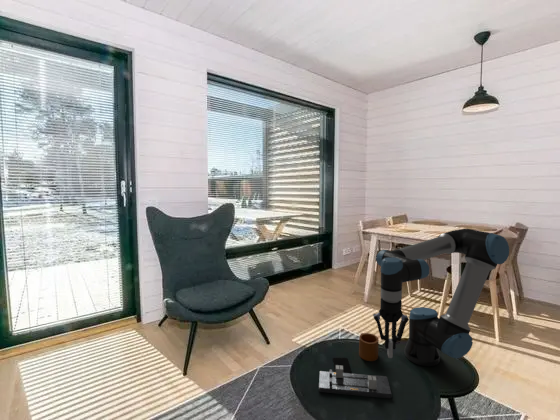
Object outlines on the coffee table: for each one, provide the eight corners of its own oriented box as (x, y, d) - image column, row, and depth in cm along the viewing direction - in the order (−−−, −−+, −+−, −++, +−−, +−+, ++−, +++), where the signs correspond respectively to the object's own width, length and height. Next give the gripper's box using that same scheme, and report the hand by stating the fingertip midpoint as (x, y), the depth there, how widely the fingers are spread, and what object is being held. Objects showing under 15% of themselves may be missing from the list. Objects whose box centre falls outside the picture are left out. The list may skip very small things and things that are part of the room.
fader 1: (342, 374, 130) (342, 365, 129) (343, 378, 127) (343, 369, 127) (335, 373, 130) (335, 364, 130) (335, 377, 128) (335, 368, 127)
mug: (372, 345, 154) (372, 329, 152) (380, 361, 142) (381, 343, 140) (354, 346, 153) (355, 329, 152) (361, 361, 141) (362, 343, 140)
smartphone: (336, 379, 130) (332, 357, 144) (336, 381, 130) (332, 359, 144) (354, 379, 129) (347, 357, 144) (354, 381, 129) (347, 358, 144)
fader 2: (375, 385, 123) (375, 375, 122) (376, 389, 120) (376, 380, 120) (367, 384, 123) (367, 375, 123) (368, 388, 121) (368, 379, 120)
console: (386, 380, 128) (387, 372, 128) (391, 398, 119) (391, 389, 118) (319, 375, 133) (319, 366, 132) (319, 391, 123) (318, 382, 123)
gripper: (406, 295, 118) (405, 351, 121) (372, 293, 120) (371, 348, 124) (411, 303, 111) (409, 363, 114) (374, 302, 113) (373, 360, 117)
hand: (389, 355), depth 119 cm, fingers closed
